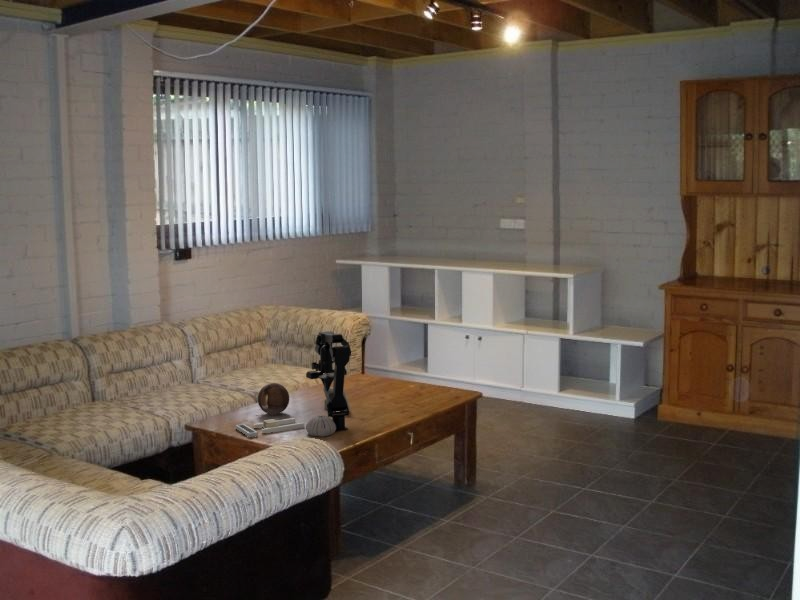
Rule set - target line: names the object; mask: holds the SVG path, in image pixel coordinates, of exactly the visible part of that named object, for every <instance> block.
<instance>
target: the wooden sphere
mask: <svg viewBox="0 0 800 600" xmlns="http://www.w3.org/2000/svg"><path fill="white" fill-rule="evenodd" d="M289 403H290V394H289V391H288V389H287V388H286V386H284V385H283V384H280V383H276V382H271V383H270V382H269V383H267V384H265V385H264V386H262V388H261V389H260V390H259V391H258V395H257V404H258V406H259V408H260V410H262V411H263V412H264V413H266V414H268V415H275V416H276V415H279V414H281V413H283V412H284V411H285V410H287V408H288V406H289Z"/></svg>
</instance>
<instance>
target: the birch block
mask: <svg viewBox="0 0 800 600" xmlns="http://www.w3.org/2000/svg"><path fill="white" fill-rule="evenodd" d="M262 423H263V428H270V427H277V426H279V425H278V421H276V419H274V418H272V419H265V420H264V419H263V421H262ZM263 428H262V429H263Z"/></svg>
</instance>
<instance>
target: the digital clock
mask: <svg viewBox="0 0 800 600" xmlns="http://www.w3.org/2000/svg"><path fill="white" fill-rule="evenodd" d="M332 392H333V387H331V386H330V388H329V391H326V390H325V388H324V387H323V393H324V396H325V399H324V409H325V410H326V409H327V402H328V400H329V394H330V393H332ZM343 395H344V397H345V399H346V401H347V405H348V409H349V411H350V408H351V407H350V404H349V401H348V398H347V396H346V393H345V391H344V390H343ZM335 412H336V411H335Z"/></svg>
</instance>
